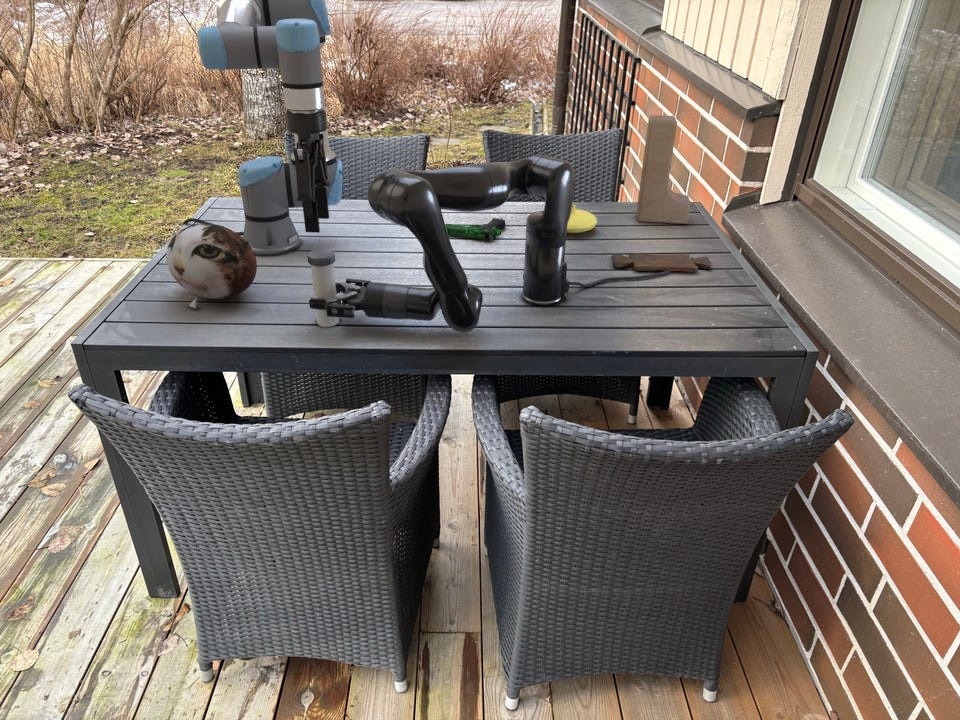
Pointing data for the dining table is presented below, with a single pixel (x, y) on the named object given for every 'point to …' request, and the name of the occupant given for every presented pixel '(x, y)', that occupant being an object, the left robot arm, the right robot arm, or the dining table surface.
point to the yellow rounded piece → (580, 221)
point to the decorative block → (660, 176)
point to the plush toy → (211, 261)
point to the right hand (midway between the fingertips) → (317, 294)
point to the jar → (324, 292)
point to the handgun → (478, 230)
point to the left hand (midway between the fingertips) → (317, 224)
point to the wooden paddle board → (661, 262)
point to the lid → (321, 257)
